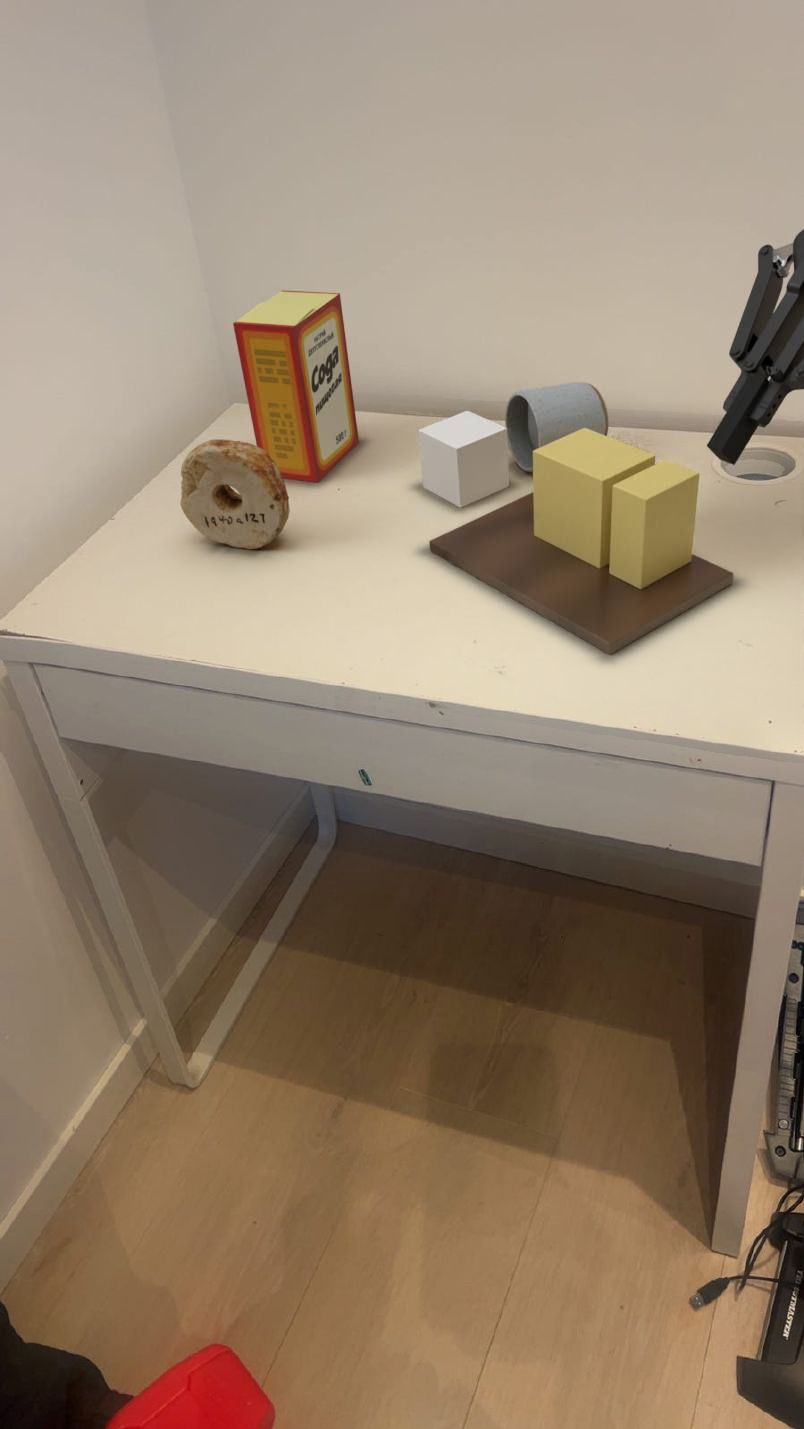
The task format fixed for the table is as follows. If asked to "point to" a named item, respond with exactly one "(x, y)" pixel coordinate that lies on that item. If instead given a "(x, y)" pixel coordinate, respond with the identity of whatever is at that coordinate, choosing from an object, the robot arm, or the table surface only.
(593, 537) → the butter block
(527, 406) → the ceramic mug
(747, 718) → the table surface
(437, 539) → the butter board
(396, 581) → the table surface
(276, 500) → the stone disc
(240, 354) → the baking soda box
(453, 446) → the white cube
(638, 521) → the block
